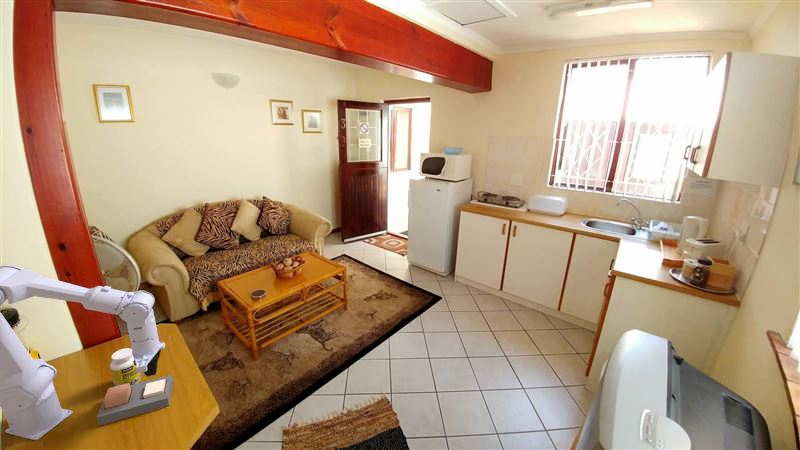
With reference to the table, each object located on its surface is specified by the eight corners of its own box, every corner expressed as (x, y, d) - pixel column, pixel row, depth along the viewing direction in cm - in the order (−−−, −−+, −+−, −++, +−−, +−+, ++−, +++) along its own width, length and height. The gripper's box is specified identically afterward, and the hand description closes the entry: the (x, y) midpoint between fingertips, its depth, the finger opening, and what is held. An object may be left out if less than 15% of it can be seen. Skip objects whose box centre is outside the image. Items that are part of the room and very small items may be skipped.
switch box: (99, 425, 80) (96, 417, 79) (109, 398, 88) (107, 390, 87) (169, 405, 88) (167, 397, 87) (173, 382, 95) (171, 374, 94)
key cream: (145, 403, 86) (143, 395, 85) (148, 391, 90) (146, 383, 89) (164, 398, 89) (162, 390, 88) (166, 387, 92) (165, 378, 91)
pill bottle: (126, 393, 90) (119, 363, 86) (109, 387, 91) (101, 358, 87) (146, 377, 96) (141, 348, 92) (130, 372, 97) (124, 344, 93)
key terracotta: (106, 409, 82) (103, 400, 81) (111, 396, 86) (108, 388, 85) (127, 403, 84) (125, 395, 83) (131, 391, 88) (129, 383, 87)
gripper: (157, 348, 78) (165, 388, 83) (166, 316, 90) (172, 352, 95) (121, 356, 75) (131, 397, 79) (135, 321, 87) (143, 359, 91)
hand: (151, 373), depth 87 cm, fingers closed
